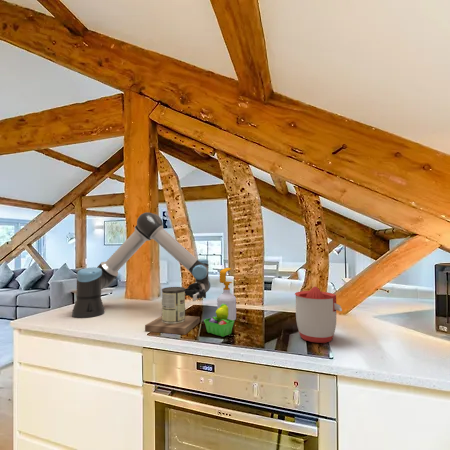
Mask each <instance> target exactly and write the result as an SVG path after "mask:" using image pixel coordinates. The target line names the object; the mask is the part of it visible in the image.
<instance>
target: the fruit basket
mask: <svg viewBox="0 0 450 450" xmlns="http://www.w3.org/2000/svg"><path fill="white" fill-rule="evenodd" d="M215 315H216V316H211V317H208V318H205V319H204V320H203V323H204V324H205V328H206V332H207V333H208V334H212V335H216V336H220V337H225V336H226V337H227V336H228V335H231V334H232V331H233V327H234V324H235V320H234V321H233V320H229V319H227V318H228V307H227V305H226V304H222V305H221V306H220V308H218V309H216V310H215Z"/></svg>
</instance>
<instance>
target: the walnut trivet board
mask: <svg viewBox="0 0 450 450" xmlns="http://www.w3.org/2000/svg"><path fill="white" fill-rule="evenodd" d="M200 317H201V316H194V315H193V316H192V315H185V321H184V322H181V323H176V324H166V323H163V322H162V315H160V316H159V317H157V318H155V319H153V320H152V321H150V322H148V323H146V324H144V332H150V333H160V332H163V333H162V334H171V333H172V334H173V335H186V334H188V332H190V331H191V330H192V329H194V328H195V327H196V326H198V324H199V323H200V322H201V321H200V320H201V319H200ZM172 334H171V335H172Z"/></svg>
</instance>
